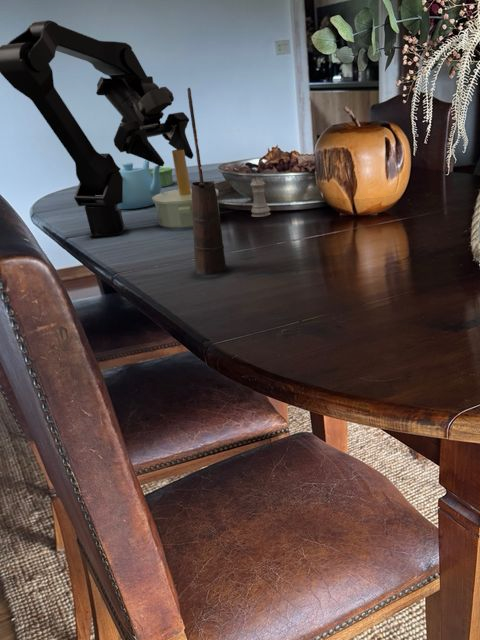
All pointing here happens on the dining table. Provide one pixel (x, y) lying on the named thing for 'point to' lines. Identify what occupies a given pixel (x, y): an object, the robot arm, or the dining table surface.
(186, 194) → the lid
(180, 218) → the pan
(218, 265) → the butter churn
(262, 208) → the rook chess piece
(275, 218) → the dining table surface
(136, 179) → the teapot
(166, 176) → the ramekin
